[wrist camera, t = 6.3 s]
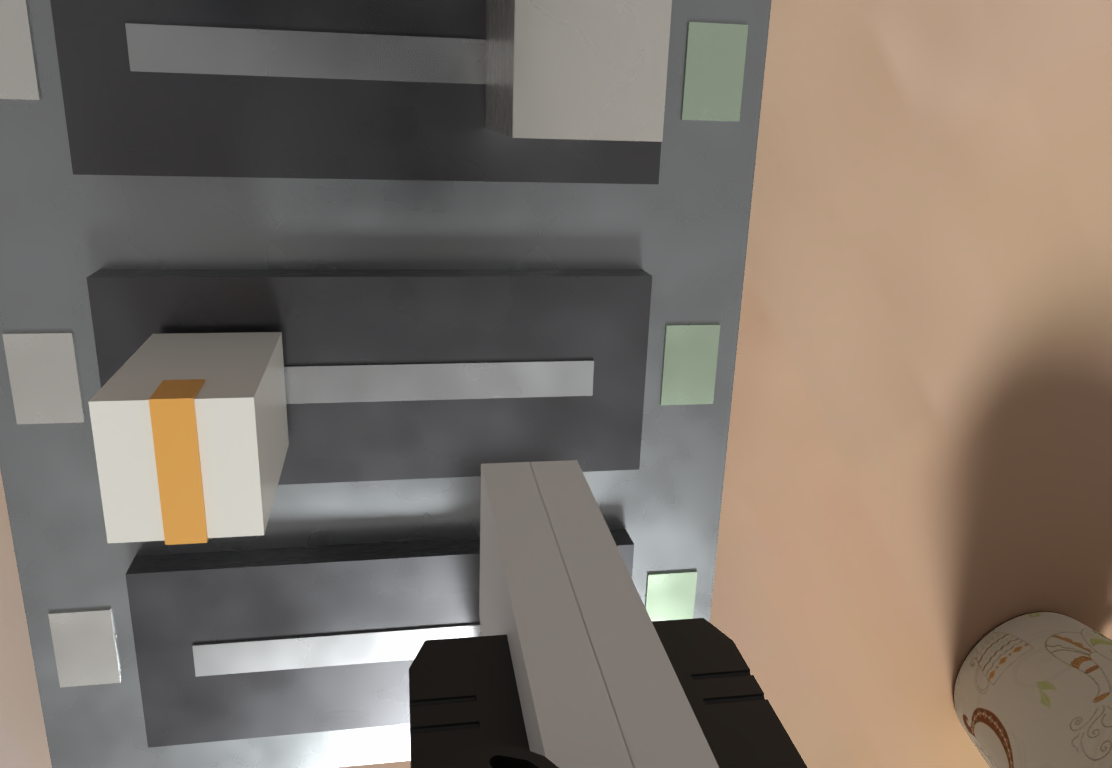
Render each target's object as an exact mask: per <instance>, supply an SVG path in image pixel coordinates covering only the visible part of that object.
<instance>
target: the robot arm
mask: <svg viewBox="0 0 1112 768" xmlns="http://www.w3.org/2000/svg"><path fill="white" fill-rule="evenodd" d="M479 618H480V624H481V631H482V636H479V637H465V638H450V639H436V640H425V642H424V643H423V645H422V647H421V649H420V650H419V652H418V654H417V655H416V657H415V659H414V661H413V662H412V664H411V666H410V667H409V704H410V754H411V768H807V766H806V764H805V763H804V761H803V759H802V758H801V756H800V754H799V753H798V751H797V749H796V747H795V746H794V744H793V742H792V741H791V739H790V737H789V736H788V734H787V732H786V730H785V729H784V727H783V725H782V724H781V722H780V720H779V718H778V717H777V715H776V713H775V712H774V710H773V708H772V707H771V705H770V703H769V701H768V700H765V699H764V693H763V691H762V689H761V688H760V686H759V684H758V683H757V681H756V679H755V678H754V676H753V675H750V669H749V667H748V666H747V664H746V662H745V661H744V659H743V657H742V655H741V654H740V652H739V650H738V649H737V647H736V645H735V643H734V642H733V641H732V640H731V639H730V638H728V637H727V636H726V635H725V634H723V633H722V632H721V631H720V630H718V629H717V628H716V627H714V626H713V625H712V624H711V623H709V622H708V621H707V620H706V619H704V618H694V619H679V620H665V621H651V619H650V617H649V615H648V613H647V610H646V608H645V606H644V604H643V602H642V600H641V597H640V595H639V593H638V591H637V589H636V587H635V584H634V582H633V580H632V578H631V576H630V574H629V571H628V569H627V567H626V565H625V563H624V561H623V558H622V556H621V554H620V552H619V550H618V548H617V546H616V543H615V541H614V539H613V537H612V535H611V533H610V530H609V528H608V526H607V524H606V522H605V520H604V517H603V515H602V513H601V511H600V509H599V507H598V504H597V502H596V500H595V498H594V496H593V494H592V491H591V489H590V487H589V485H588V483H587V481H586V478H585V476H584V474H583V472H582V470H581V468H580V465H579V463H578V461H577V460H566V461H539V462H512V463H486V464H481V502H480V590H479Z"/></svg>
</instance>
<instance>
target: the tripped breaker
mask: <svg viewBox="0 0 1112 768" xmlns="http://www.w3.org/2000/svg"><path fill="white" fill-rule="evenodd" d="M88 403H89V410H90V418H91V425H92V432H93V440H94V447H95V454H96V462H97V469H98V476H99V484H100V491H101V498H102V506H103V513H104V520H105V528H106V535H107V542H108V543H127V542H146V541H165V545H175V544H194V543H207V542H208V539H209V538H222V537H241V536H260V535H264V534H265V531H266V527H267V523H268V520H269V516H270V512H271V509H272V505H273V501H274V497H275V494H276V490H277V486H278V483H279V479H280V475H281V472H282V468H283V464H284V461H285V457H286V453H287V450H288V446H289V439H288V424H287V408H286V392H285V377H284V361H283V345H282V332H247V333H171V334H152V335H151V336H150V337H149V338H148V339H147V340H146V341H145V342H144V343H143V345H142V346H141V347H140V348H139V349H138V350H137V351H136V352H135V353H134V354H133V355H132V356H131V357H130V358H129V359H128V360H127V361H126V362H125V363H124V365H123V366H122V367H121V368H120V369H119V370H118V371H117V372H116V373H115V374H114V375H113V376H112V377H111V378H110V379H109V380H108V381H107V382H106V384H105V385H104V386H103V387H102V388H101V389H100V390H99V391H98V392H97V393H96V394H95V395H94V396H93V397H92V398H91V399H90V400H89V401H88Z"/></svg>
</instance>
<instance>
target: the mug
mask: <svg viewBox="0 0 1112 768" xmlns="http://www.w3.org/2000/svg"><path fill="white" fill-rule="evenodd" d="M954 705H955V710H956V713H957V716H958V718H959V720H960V722H961V724H962V726H963V727H964V729H965V731H966V732H967V734H968V735H969V737H970V738H971V740H972V741H973V743H974V744H975V746H976V747H977V749H978V750H979V752H980V753H981V755H982V756H983V757H984V759H985V760H986V762H987V763H988V765H989V766H990V768H1112V640H1111V639H1109V638H1107V637H1105V636H1104V635H1102V634H1100V633H1098V632H1097V631H1095V630H1093V629H1091V628H1090V627H1088V626H1086V625H1084V624H1082V623H1080V622H1079V621H1077V620H1075V619H1073V618H1071V617H1068V616H1065V615H1062V614H1059V613H1053V612H1036V613H1030V614H1025V615H1022V616H1019V617H1016V618H1014V619H1011V620H1009V621H1007V622H1005V623H1003V624H1002V625H1000V626H998V627H997V628H995V629H994V630H992V631H991V632H990V633H988V634H987V635H986V636H985V637H984V638H983V639H982V640H981V641H980V642H979V643H978V644H977V645H976V646H975V647H974V648H973V649H972V651H971V652H970V653H969V655H968V656H967V658H966V659H965V661H964V663H963V664H962V667H961V669H960V671H959V674H958V676H957V680H956V684H955V689H954Z"/></svg>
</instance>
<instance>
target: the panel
mask: <svg viewBox="0 0 1112 768" xmlns="http://www.w3.org/2000/svg"><path fill="white" fill-rule="evenodd" d="M770 9H771V0H0V468H1V474H2V480H3V486H4V491H5V497H6V503H7V509H8V514H9V520H10V526H11V532H12V538H13V543H14V549H15V555H16V561H17V567H18V572H19V578H20V584H21V590H22V595H23V601H24V607H25V613H26V619H27V624H28V630H29V636H30V642H31V648H32V653H33V659H34V665H35V671H36V677H37V682H38V688H39V694H40V700H41V705H42V711H43V717H44V723H45V729H46V734H47V740H48V746H49V752H50V758H51V763H52V768H338V767H348V766H358V765H368V764H378V763H388V762H398V761H409V760H411V754H410V704H409V667H410V666H411V664H412V662H413V661H414V659H415V657H416V655H417V654H418V652H419V650H420V649H421V647H422V645H423V643H424V642H425V640H436V639H450V638H465V637H479V636H482V631H481V624H480V618H479V590H480V502H481V464H486V463H512V462H539V461H566V460H577V461H578V463H579V465H580V468H581V470H582V472H583V474H584V476H585V478H586V481H587V483H588V485H589V487H590V489H591V491H592V494H593V496H594V498H595V500H596V502H597V504H598V507H599V509H600V511H601V513H602V515H603V517H604V520H605V522H606V524H607V526H608V528H609V530H610V533H611V535H612V537H613V539H614V541H615V543H616V546H617V548H618V550H619V552H620V554H621V556H622V558H623V561H624V563H625V565H626V567H627V569H628V571H629V574H630V576H631V578H632V580H633V582H634V584H635V587H636V589H637V591H638V593H639V595H640V597H641V600H642V602H643V604H644V606H645V608H646V610H647V613H648V615H649V617H650V619H651V621H665V620H679V619H694V618H704V619H706V620H707V621H708V622H709V621H710V611H711V601H712V591H713V581H714V570H715V560H716V550H717V540H718V530H719V520H720V510H721V500H722V490H723V480H724V470H725V460H726V450H727V440H728V430H729V420H730V410H731V400H732V390H733V380H734V370H735V360H736V350H737V340H738V330H739V320H740V310H741V300H742V290H743V280H744V270H745V260H746V250H747V239H748V229H749V219H750V209H751V199H752V189H753V179H754V169H755V159H756V149H757V139H758V129H759V119H760V109H761V99H762V89H763V79H764V69H765V59H766V49H767V39H768V29H769V19H770ZM247 332H282V345H283V361H284V377H285V392H286V408H287V424H288V439H289V446H288V450H287V453H286V457H285V461H284V464H283V468H282V472H281V475H280V479H279V483H278V486H277V490H276V494H275V497H274V501H273V505H272V509H271V512H270V516H269V520H268V523H267V527H266V531H265V534H264V535H260V536H241V537H222V538H209V539H208V542H207V543H194V544H175V545H165V541H146V542H127V543H108V542H107V535H106V528H105V520H104V513H103V506H102V498H101V491H100V484H99V476H98V469H97V462H96V454H95V447H94V440H93V432H92V425H91V418H90V410H89V403H88V401H89V400H90V399H91V398H92V397H93V396H94V395H95V394H96V393H97V392H98V391H99V390H100V389H101V388H102V387H103V386H104V385H105V384H106V382H107V381H108V380H109V379H110V378H111V377H112V376H113V375H114V374H115V373H116V372H117V371H118V370H119V369H120V368H121V367H122V366H123V365H124V363H125V362H126V361H127V360H128V359H129V358H130V357H131V356H132V355H133V354H134V353H135V352H136V351H137V350H138V349H139V348H140V347H141V346H142V345H143V343H144V342H145V341H146V340H147V339H148V338H149V337H150V336H151V335H152V334H171V333H247Z"/></svg>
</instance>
